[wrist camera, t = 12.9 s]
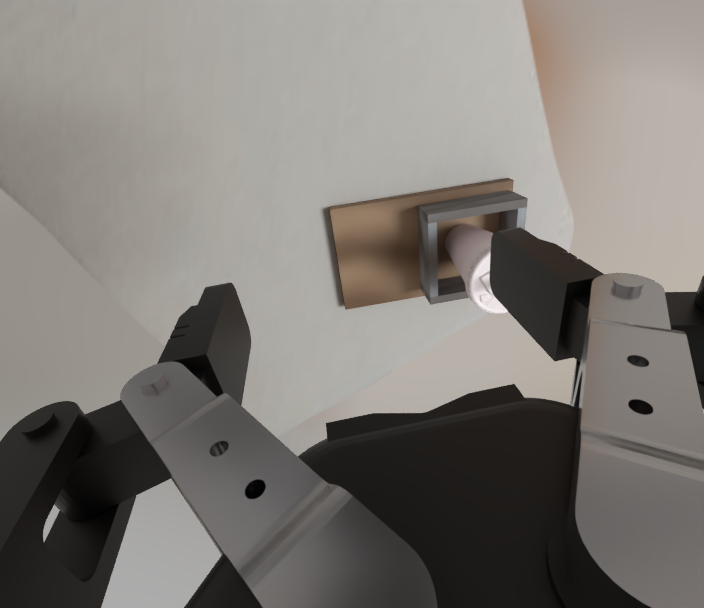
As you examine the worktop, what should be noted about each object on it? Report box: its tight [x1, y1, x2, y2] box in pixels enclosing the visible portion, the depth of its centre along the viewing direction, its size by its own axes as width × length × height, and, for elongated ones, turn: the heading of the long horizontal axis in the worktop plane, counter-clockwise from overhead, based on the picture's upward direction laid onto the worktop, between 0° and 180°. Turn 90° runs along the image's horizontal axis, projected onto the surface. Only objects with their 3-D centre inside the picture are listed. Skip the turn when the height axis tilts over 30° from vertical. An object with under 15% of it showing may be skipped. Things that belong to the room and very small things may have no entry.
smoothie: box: [445, 223, 508, 313], centre depth 33 cm, size 6×6×14 cm
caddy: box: [329, 178, 528, 309], centre depth 38 cm, size 11×18×4 cm, turn 97°
